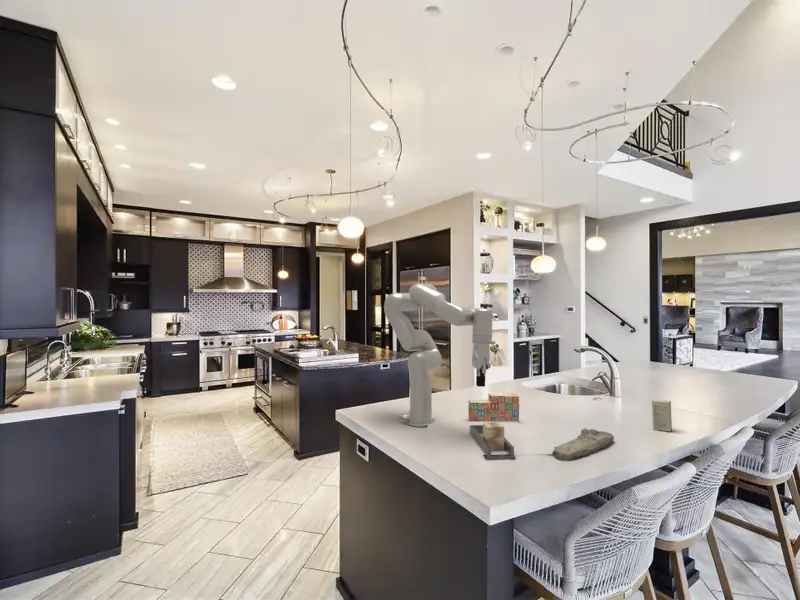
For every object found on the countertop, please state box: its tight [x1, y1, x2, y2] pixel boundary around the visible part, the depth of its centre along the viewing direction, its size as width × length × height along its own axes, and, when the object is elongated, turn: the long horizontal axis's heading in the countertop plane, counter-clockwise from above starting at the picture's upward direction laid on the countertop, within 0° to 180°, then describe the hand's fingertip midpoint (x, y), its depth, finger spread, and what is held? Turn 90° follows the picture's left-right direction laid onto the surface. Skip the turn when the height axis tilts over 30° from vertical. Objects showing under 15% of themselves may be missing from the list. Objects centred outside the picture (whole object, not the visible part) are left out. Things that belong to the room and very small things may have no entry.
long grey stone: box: [552, 427, 615, 462], centre depth 148 cm, size 35×5×10 cm
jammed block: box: [482, 421, 505, 451], centre depth 146 cm, size 6×6×8 cm
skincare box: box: [651, 398, 673, 433], centre depth 171 cm, size 6×4×12 cm
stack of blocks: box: [467, 392, 520, 423], centre depth 183 cm, size 21×6×12 cm, turn 89°
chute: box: [469, 424, 516, 461], centre depth 151 cm, size 10×26×4 cm, turn 4°
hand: (480, 385), depth 162 cm, fingers closed
